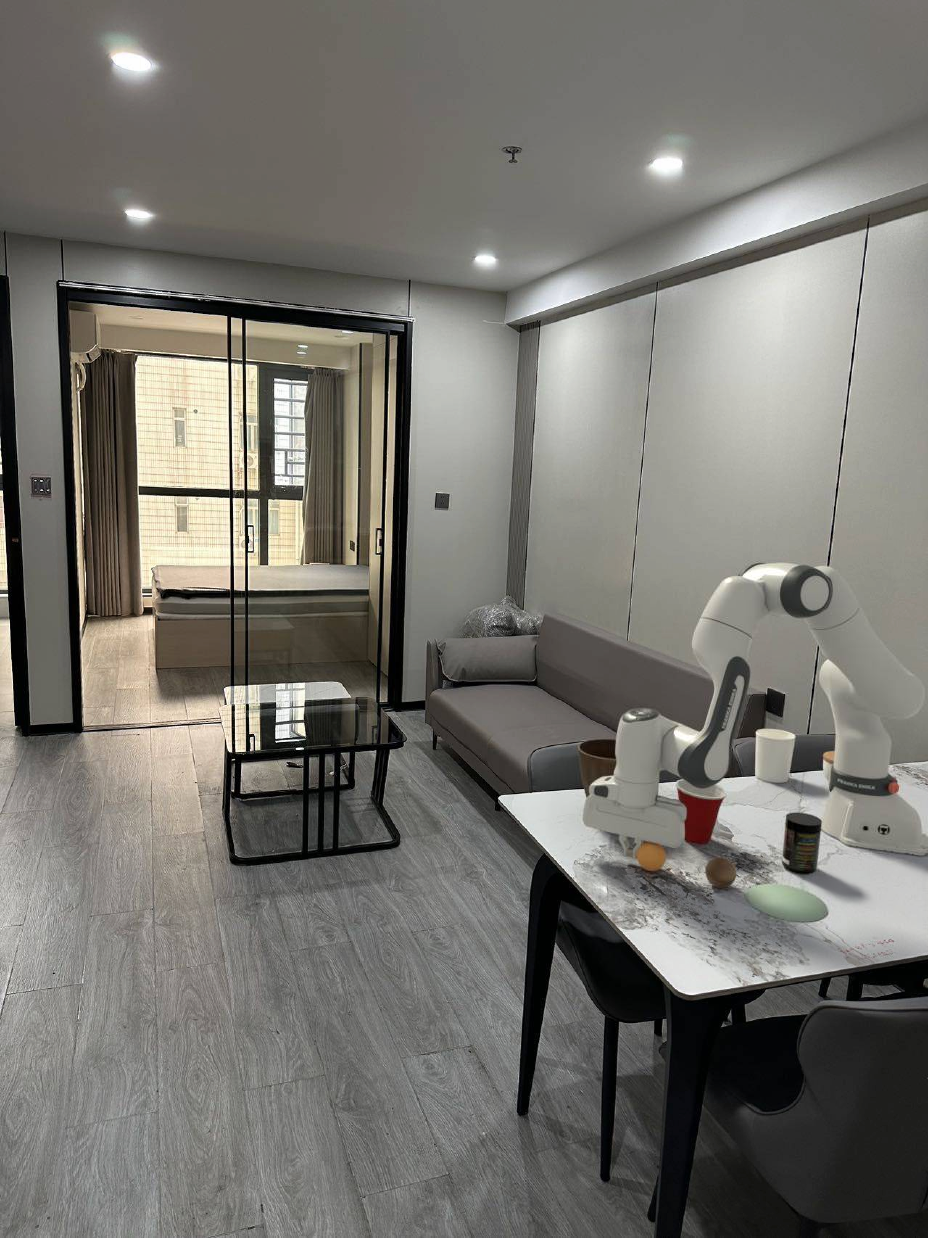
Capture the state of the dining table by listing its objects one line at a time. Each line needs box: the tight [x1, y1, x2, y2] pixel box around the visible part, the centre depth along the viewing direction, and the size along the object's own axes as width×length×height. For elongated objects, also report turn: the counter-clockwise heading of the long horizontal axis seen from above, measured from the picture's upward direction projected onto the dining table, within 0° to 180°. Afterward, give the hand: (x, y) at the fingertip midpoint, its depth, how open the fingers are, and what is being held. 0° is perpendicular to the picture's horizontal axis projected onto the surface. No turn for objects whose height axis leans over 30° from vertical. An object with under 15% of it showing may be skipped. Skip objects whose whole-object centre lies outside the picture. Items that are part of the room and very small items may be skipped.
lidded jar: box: [822, 750, 835, 783], centre depth 221 cm, size 11×11×9 cm
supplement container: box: [781, 812, 822, 875], centre depth 171 cm, size 7×7×10 cm
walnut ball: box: [704, 856, 737, 889], centre depth 162 cm, size 6×6×6 cm
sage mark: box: [745, 883, 828, 923], centre depth 157 cm, size 14×14×1 cm
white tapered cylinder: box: [754, 728, 796, 784], centre depth 225 cm, size 10×10×12 cm
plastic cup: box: [675, 778, 728, 845], centre depth 183 cm, size 11×11×12 cm
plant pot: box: [577, 738, 617, 799], centre depth 194 cm, size 15×15×16 cm
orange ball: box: [636, 841, 667, 872], centre depth 168 cm, size 6×6×6 cm
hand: (630, 856), depth 171 cm, fingers closed
